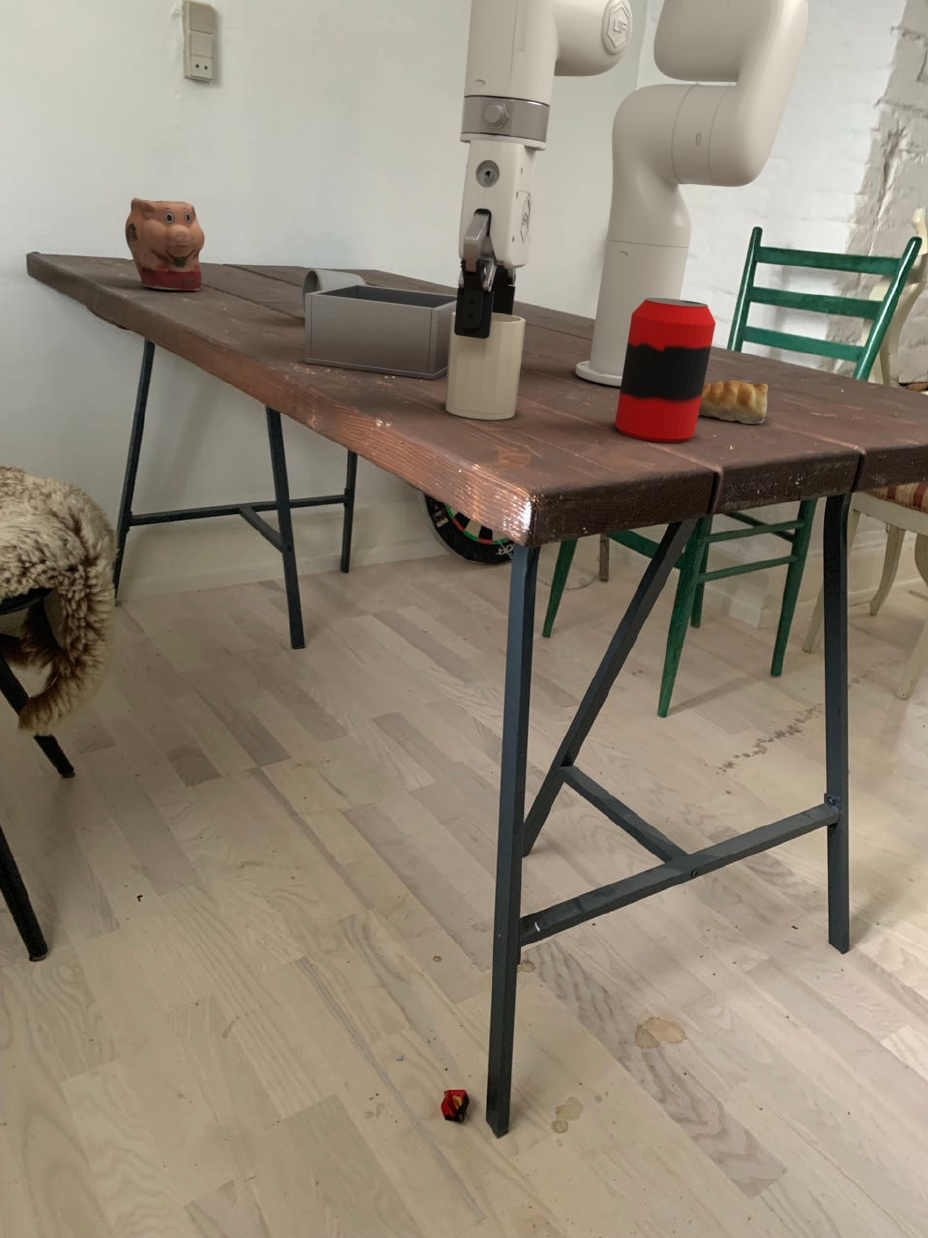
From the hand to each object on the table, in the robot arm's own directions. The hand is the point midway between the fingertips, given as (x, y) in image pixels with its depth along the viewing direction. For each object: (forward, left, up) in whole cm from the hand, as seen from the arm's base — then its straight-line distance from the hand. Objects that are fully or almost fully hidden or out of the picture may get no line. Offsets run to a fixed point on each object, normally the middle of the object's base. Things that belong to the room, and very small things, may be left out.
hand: (483, 331), depth 86 cm
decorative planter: (+70, -61, -8) cm, 93 cm away
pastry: (-24, -15, -8) cm, 29 cm away
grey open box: (+16, -21, -8) cm, 27 cm away
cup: (0, -1, -8) cm, 8 cm away
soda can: (-17, -2, -8) cm, 19 cm away
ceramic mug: (+33, -44, -8) cm, 55 cm away
